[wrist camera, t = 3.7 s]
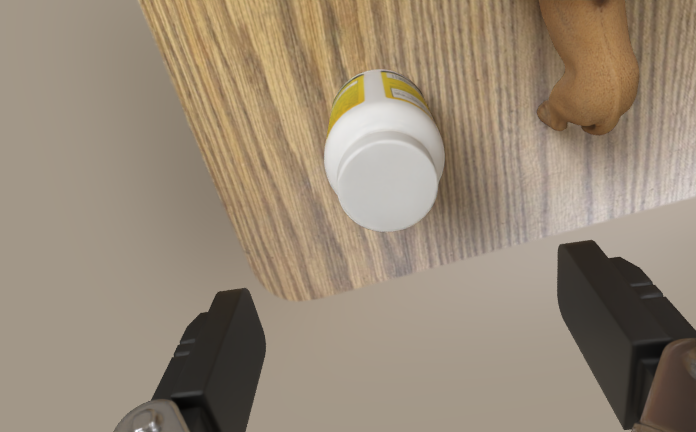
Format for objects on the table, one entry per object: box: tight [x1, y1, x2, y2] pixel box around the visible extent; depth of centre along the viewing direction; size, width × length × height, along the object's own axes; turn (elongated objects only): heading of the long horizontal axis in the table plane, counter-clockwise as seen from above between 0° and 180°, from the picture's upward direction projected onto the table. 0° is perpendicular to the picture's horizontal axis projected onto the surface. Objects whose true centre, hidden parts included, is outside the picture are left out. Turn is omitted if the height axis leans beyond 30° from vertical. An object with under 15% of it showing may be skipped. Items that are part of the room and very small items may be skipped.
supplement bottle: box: [324, 69, 445, 232], centre depth 23 cm, size 5×5×10 cm
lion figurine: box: [537, 0, 639, 135], centre depth 21 cm, size 15×5×9 cm, turn 35°
